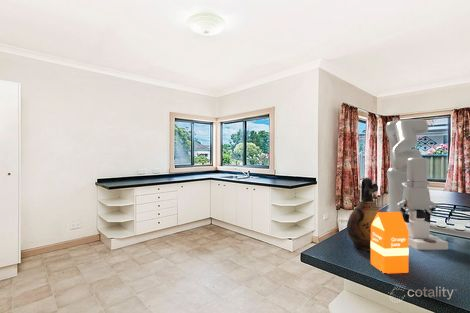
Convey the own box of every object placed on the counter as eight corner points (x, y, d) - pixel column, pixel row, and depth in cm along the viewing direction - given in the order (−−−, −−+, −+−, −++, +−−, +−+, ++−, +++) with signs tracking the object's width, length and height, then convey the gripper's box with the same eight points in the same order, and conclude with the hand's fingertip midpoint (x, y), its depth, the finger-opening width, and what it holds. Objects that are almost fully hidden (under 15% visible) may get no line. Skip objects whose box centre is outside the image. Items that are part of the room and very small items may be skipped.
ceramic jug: (393, 255, 98) (394, 180, 98) (352, 253, 101) (352, 180, 101) (378, 240, 115) (378, 176, 114) (342, 238, 118) (342, 175, 117)
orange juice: (370, 263, 92) (370, 209, 91) (392, 262, 92) (393, 209, 92) (384, 273, 84) (384, 215, 84) (409, 272, 84) (409, 214, 84)
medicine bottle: (419, 233, 117) (419, 208, 117) (430, 238, 110) (430, 211, 110) (403, 233, 118) (403, 207, 117) (413, 238, 110) (413, 211, 110)
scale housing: (393, 236, 120) (393, 229, 120) (420, 236, 120) (420, 229, 120) (418, 250, 103) (418, 241, 103) (449, 250, 103) (449, 241, 103)
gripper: (429, 183, 117) (429, 219, 117) (392, 183, 117) (392, 219, 117) (442, 185, 109) (442, 224, 109) (402, 185, 109) (402, 224, 110)
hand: (416, 221), depth 113 cm, fingers open, 9 cm apart
